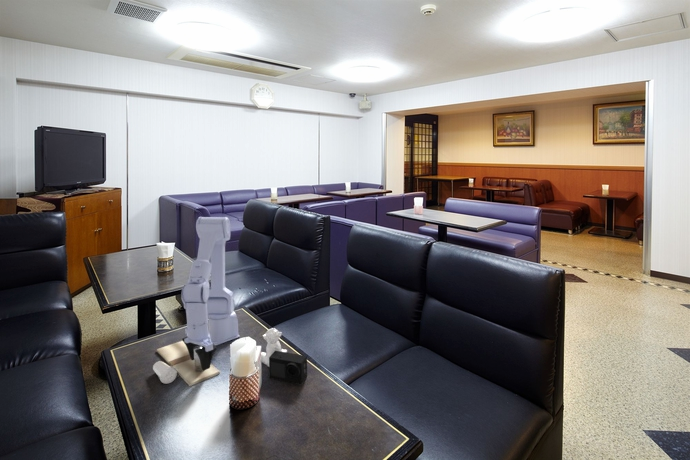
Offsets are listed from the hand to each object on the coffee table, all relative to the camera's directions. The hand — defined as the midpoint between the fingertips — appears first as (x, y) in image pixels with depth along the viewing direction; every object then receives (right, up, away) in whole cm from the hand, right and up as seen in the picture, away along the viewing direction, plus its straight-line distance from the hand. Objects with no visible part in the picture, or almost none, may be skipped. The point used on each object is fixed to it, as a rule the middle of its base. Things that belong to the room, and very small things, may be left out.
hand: (200, 363), depth 114 cm
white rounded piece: (-13, 0, 0) cm, 13 cm away
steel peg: (0, -2, 0) cm, 2 cm away
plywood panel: (-6, -1, +5) cm, 8 cm away
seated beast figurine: (+21, -2, +6) cm, 22 cm away
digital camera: (+27, -4, -2) cm, 27 cm away
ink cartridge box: (+18, -5, -8) cm, 20 cm away
